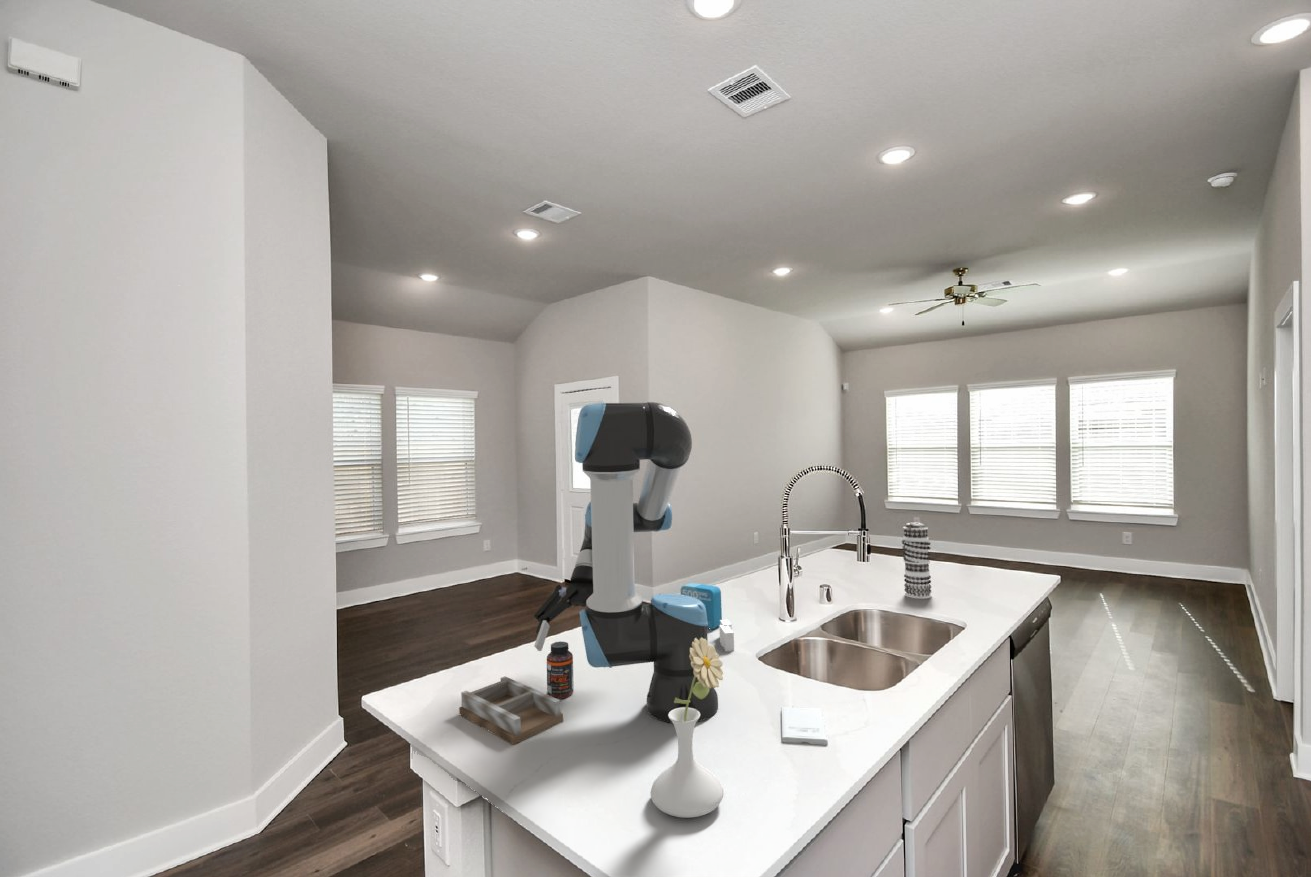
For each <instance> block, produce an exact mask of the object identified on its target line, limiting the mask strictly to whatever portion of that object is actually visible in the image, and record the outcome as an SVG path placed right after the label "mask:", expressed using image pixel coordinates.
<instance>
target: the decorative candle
mask: <svg viewBox="0 0 1311 877" xmlns="http://www.w3.org/2000/svg"><path fill="white" fill-rule="evenodd" d="M902 528H903V540H901V544H902V545H903V546H902V548H901V549H902V554H903V557H902V558H903V562H904V567H905V568H904V574H903V575H904V576H903V577H904V580H903V581H904V586H903V587H904V596H905V597H907V598H912V599H919V600H920V599H924V600H925V599H930V598H932V590H931V589H932V585H931V583H932V580H931V578H932V576H931V574H930V573H931V571H930V566H929V565H930V563H931V561H930V560H931V557H930V556H931V552H929V550H931V547H930V546H931V542H929V535H928V529H929V527H928V526H926V524H925V523H923V522H915V521H913V522H907V523H906V524H905V525H904V526H902Z"/></svg>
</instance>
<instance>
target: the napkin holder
mask: <svg viewBox="0 0 1311 877" xmlns="http://www.w3.org/2000/svg"><path fill="white" fill-rule="evenodd" d="M732 626H733V625H732V623H731V622H730V620H729V619H722V620H720V625H719V626H718V627H719V629H718V630H719V644H720V643H721V644H722V645H721V644H720V645H721V646H723V647H724V648H723V647H722V648H723V650H724V649H725V650H724V651H725V652H730V651H729V650H734V651H735V633H734V630H733V629H732V628H733V627H732Z"/></svg>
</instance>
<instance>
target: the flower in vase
mask: <svg viewBox="0 0 1311 877" xmlns="http://www.w3.org/2000/svg"><path fill="white" fill-rule="evenodd" d="M689 657H690V660H691V666H692V667H693V669H694V671H693V673H694V678H693V681H692V685H691V689H690V693H689V697H688V700H681V699H678V698H675V700H674V703H682V704H686V707H681V708H676V709H673V710H671V711H670V712H669V714H668V717H669V719H670V720H671V721H672V722H673V723H672V724H673V727H674V729H675V733H676V737H677V747H678V748H677V750H678V751H677V752H678V753H677V759H676V761H675V763H673V764H672V765H671V766H669V767H668V768H666V769H665V770H664V771H663V772H661V773H660V774H659V775H658V776H657V777H656V779H655V780H654V781H653V783H652V786H651V788H650V799H651V800H652V802H653V804H654V805H655V806H656V808H658V810H660V812H663V813H664V814H667V815H670V816H673V817H677V818H684V819H685V818H688V819H689V818H690V819H691V818H698V817H702V816H705V815H707V814H709V813H711V812H713V811H714V810H715V809H717V807H719V805H720V804H721V802H722V800H723V799H724V794H725V792H724V788H723V786H722V783H721V781H720V780H719V778H718V777H716V776H715V775H714V773H712V772H711V771H710V770H708V769H707V768H706V767H703V766H702V765H701V764H699V763H697V761H696V760H695V758H694V751H693V738H694V731H695V726H696V723H697V720H698V719H699V717H700V712H699V711H697V710H696V709H693V708H688V705H689V703H690V702H691V701H690V698H691V694H692V692H693V694H694V695H695V696H696V697H698V698H699V699H703V698H705V697H706V696H707V695H708V693H709V688H711V687H713V688H714V689H716V688H719V687H720V682H719V681H723V680H724V677H723V674H724V671H723V670H722V667H723V661H722V660H721V659H719V658H720V655H719V654H718V653H717V652H716V647H715V646H714V645H710V644H709V641H708V642H707V640H706V639H703V638H701V639H700V640H699V641H698V639H697V638H695V639H694V642H692V648H690V655H689ZM696 677H697V679H698V680H699V682H697V683H696V684H695V685H694V682H695V679H696ZM693 686H694V687H693ZM692 690H693V691H692Z"/></svg>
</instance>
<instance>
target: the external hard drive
mask: <svg viewBox="0 0 1311 877" xmlns="http://www.w3.org/2000/svg"><path fill="white" fill-rule="evenodd" d="M780 709H781V711H780V712H781V738H782V739H781V740H782V742H783V743H795V744H796V743H797V744H802V743H804V744H805V743H806V744H809V745H810V744H811V745H814V744H815V745H825V746H826V745H829V743H828V742H829V741H828V734H827V729H826V724H825V723H826V722H825V717H824V712H823V709H822V708H820V707H819V708H818V707H817V708H815V707H795V706H782V707H781V708H780ZM782 742H781V743H782Z"/></svg>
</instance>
